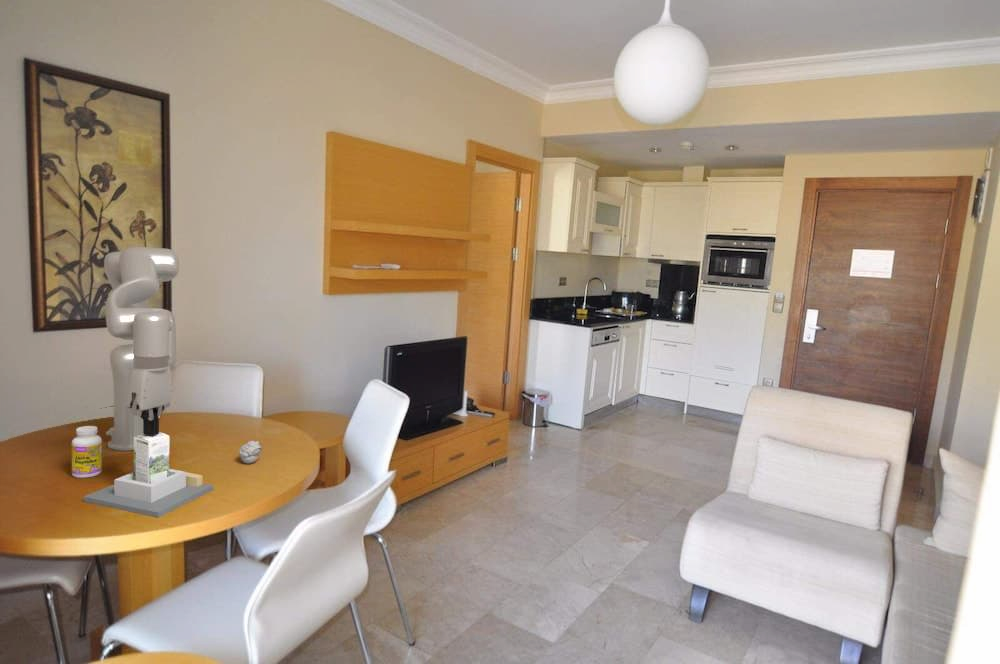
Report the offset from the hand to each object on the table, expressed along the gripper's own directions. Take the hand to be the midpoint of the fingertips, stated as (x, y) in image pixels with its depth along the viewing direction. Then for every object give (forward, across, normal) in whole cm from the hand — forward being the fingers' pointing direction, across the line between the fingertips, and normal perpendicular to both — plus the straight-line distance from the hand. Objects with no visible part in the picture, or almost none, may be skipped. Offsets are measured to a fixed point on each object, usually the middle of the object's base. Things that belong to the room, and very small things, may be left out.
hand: (151, 434), depth 147 cm
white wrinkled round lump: (+16, -29, +7) cm, 34 cm away
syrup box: (+15, 0, 0) cm, 15 cm away
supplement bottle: (+16, -4, -25) cm, 30 cm away
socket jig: (+16, 0, 0) cm, 16 cm away
